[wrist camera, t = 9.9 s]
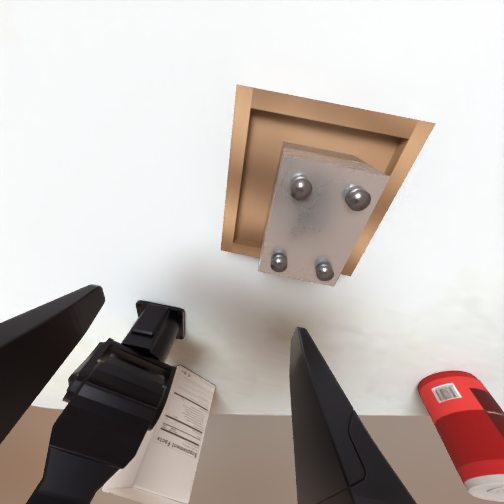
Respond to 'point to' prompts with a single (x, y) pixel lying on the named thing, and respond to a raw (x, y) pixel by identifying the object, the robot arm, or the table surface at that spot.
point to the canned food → (468, 429)
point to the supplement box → (169, 446)
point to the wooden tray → (313, 135)
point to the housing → (317, 212)
